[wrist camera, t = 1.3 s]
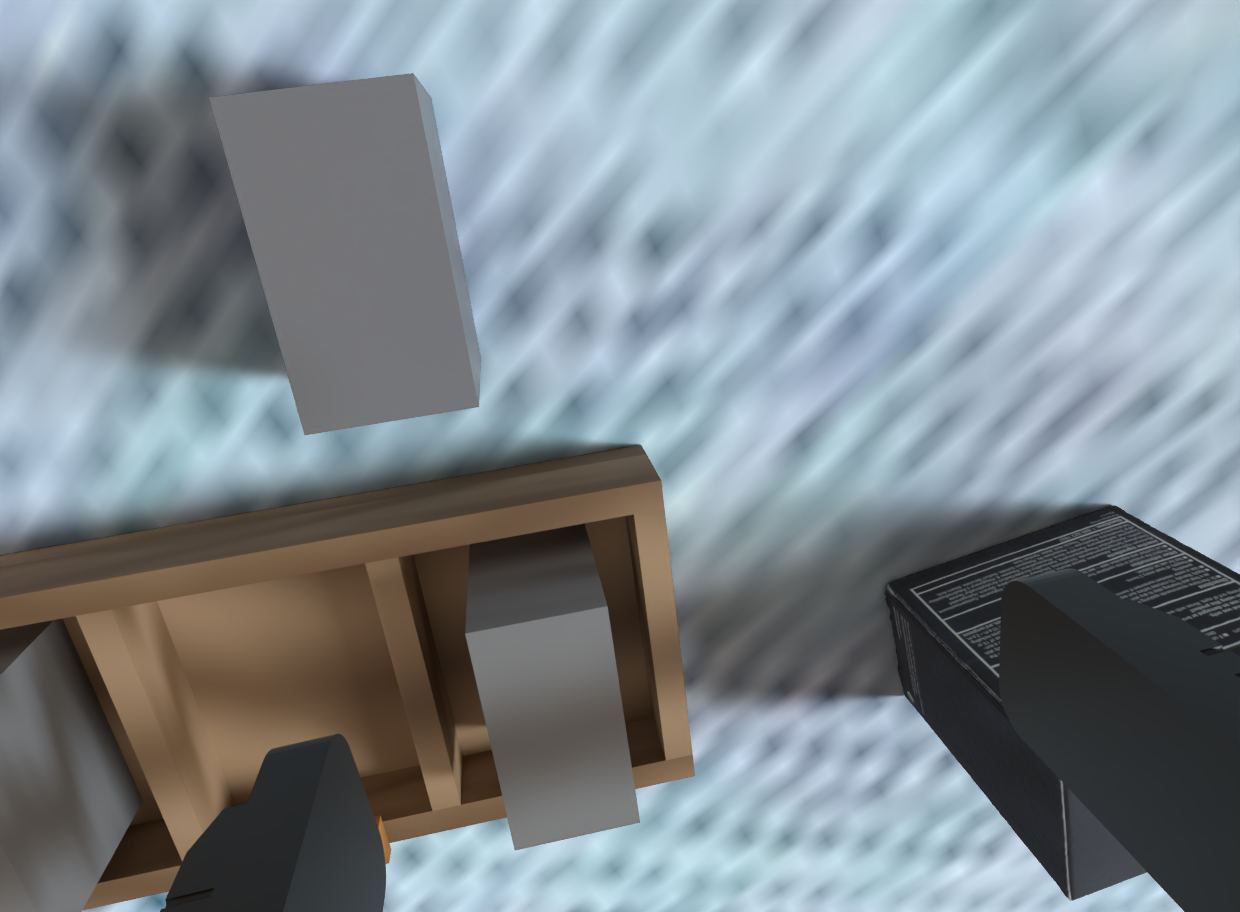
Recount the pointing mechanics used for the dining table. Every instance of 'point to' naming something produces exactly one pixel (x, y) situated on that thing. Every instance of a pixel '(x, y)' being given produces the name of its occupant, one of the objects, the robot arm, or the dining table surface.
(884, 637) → the dining table surface
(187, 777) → the rack
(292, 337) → the block
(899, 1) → the dining table surface
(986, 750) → the small box
